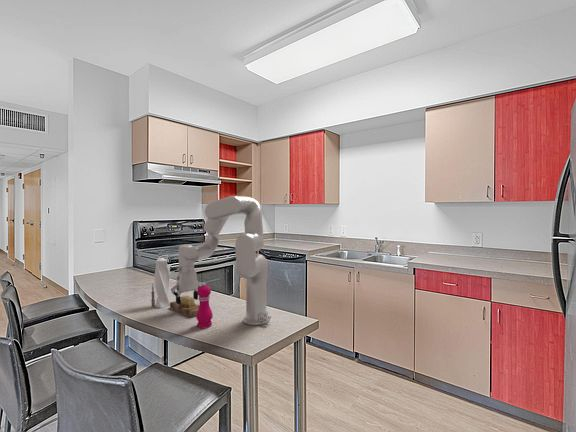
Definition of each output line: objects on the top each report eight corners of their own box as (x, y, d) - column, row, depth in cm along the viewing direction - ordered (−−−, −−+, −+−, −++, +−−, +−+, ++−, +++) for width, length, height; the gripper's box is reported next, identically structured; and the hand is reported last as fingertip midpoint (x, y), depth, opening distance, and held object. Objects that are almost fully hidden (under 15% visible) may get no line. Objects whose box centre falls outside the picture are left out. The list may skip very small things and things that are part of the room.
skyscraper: (164, 302, 174) (162, 253, 173) (173, 305, 170) (172, 255, 169) (150, 307, 167) (149, 256, 166) (160, 309, 163) (159, 257, 162)
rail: (205, 313, 156) (205, 307, 156) (191, 318, 150) (191, 312, 150) (183, 304, 171) (183, 299, 171) (170, 308, 165) (169, 302, 165)
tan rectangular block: (194, 310, 159) (194, 298, 159) (189, 312, 157) (189, 299, 156) (186, 307, 164) (186, 295, 164) (181, 309, 162) (180, 296, 162)
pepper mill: (206, 321, 146) (205, 279, 145) (216, 325, 141) (215, 282, 140) (193, 326, 140) (192, 282, 139) (202, 330, 135) (201, 285, 135)
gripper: (174, 272, 151) (175, 307, 151) (205, 267, 163) (205, 299, 164) (167, 270, 156) (167, 304, 156) (197, 265, 168) (198, 296, 169)
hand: (187, 301), depth 160 cm, fingers open, 9 cm apart
